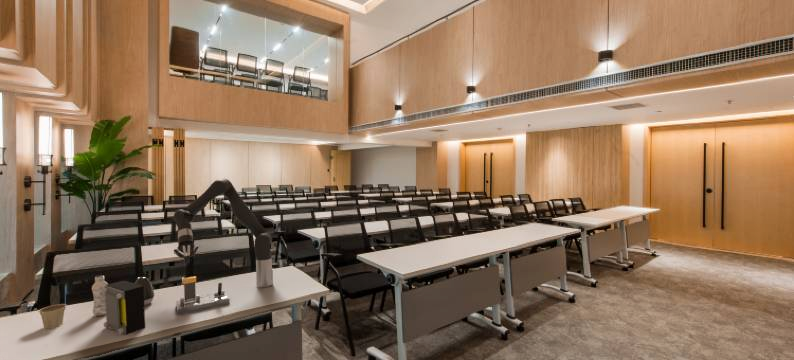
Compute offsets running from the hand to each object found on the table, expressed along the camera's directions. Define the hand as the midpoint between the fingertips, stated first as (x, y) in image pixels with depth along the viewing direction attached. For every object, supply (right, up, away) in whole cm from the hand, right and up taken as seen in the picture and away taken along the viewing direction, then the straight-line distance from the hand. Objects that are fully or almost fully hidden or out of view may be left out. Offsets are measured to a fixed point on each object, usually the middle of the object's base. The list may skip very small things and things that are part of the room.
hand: (187, 262), depth 192 cm
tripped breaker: (+9, -17, -12) cm, 22 cm away
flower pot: (-45, -23, -31) cm, 59 cm away
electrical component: (-9, -23, -33) cm, 41 cm away
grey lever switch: (+14, -21, -8) cm, 26 cm away
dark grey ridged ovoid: (-21, -22, -6) cm, 30 cm away
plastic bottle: (-32, -22, -19) cm, 44 cm away
